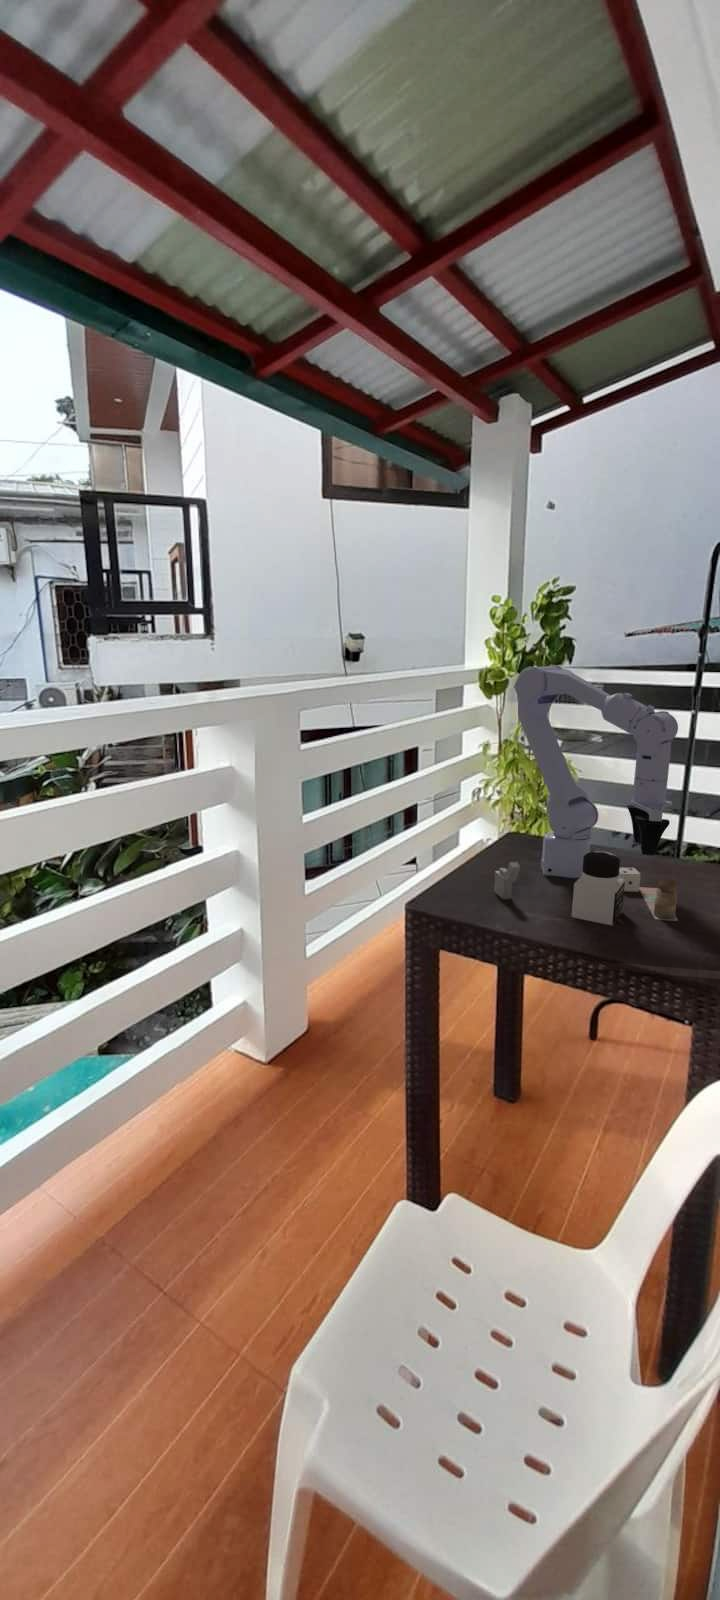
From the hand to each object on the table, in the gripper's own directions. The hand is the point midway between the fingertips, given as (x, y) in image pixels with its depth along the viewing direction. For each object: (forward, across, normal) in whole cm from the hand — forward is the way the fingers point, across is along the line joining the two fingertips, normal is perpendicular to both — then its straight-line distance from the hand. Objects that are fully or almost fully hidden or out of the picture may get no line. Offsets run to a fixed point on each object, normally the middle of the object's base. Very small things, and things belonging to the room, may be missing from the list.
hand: (644, 848), depth 133 cm
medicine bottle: (+10, -14, +10) cm, 19 cm away
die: (+9, +1, +2) cm, 9 cm away
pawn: (+8, -12, -2) cm, 15 cm away
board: (+9, -6, 0) cm, 11 cm away
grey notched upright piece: (+10, -6, +25) cm, 28 cm away
